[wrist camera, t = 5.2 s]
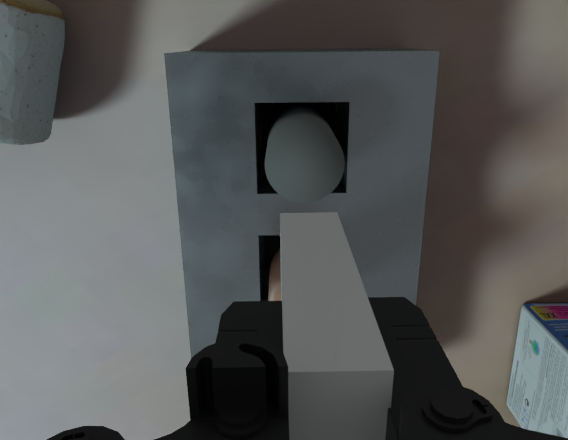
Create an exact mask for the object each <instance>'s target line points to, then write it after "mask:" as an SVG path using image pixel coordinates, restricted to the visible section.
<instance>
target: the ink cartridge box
mask: <svg viewBox="0 0 568 440" xmlns="http://www.w3.org/2000/svg"><path fill="white" fill-rule="evenodd" d="M507 406H508V407H509V409H510V410H511V412H512V413H513V415H514V417H515V418H516V420H517V421H518V423H519V424H520V426H521V427H522V428H523V429H527V430H532V431H536V432H541V433H546V434H550V435H555V436H560V437H564V438H568V303H549V304H524V305H523V306H522V308H521V315H520V321H519V327H518V334H517V340H516V346H515V352H514V359H513V365H512V372H511V378H510V384H509V391H508V397H507Z"/></svg>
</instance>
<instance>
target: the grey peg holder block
mask: <svg viewBox="0 0 568 440" xmlns="http://www.w3.org/2000/svg"><path fill="white" fill-rule="evenodd" d="M164 55H165V66H166V77H167V89H168V100H169V111H170V123H171V134H172V145H173V157H174V168H175V179H176V190H177V202H178V213H179V224H180V236H181V247H182V258H183V269H184V281H185V292H186V303H187V315H188V326H189V337H190V349H191V359H192V357H193V356H194V355H195V354H197V353H198V352H199V351H201V350H202V349H203V348H205V347H207V346H209V345H212V344H215V343H216V338H217V334H218V328H219V323H220V318H221V314H222V313H223V312H224V311H225V310H226V309H227V308H228V307H229V306H230V305H231V304H232V303H233V302H234V301H268V293H269V276H270V264H271V263H265V257H264V235H280V213H316V212H337V213H338V216H339V219H340V221H341V224H342V227H343V230H344V233H345V235H346V238H347V241H348V244H349V247H350V249H351V252H352V255H353V258H354V260H355V263H356V266H357V269H358V272H359V274H360V277H361V280H362V283H363V285H364V288H365V291H366V294H367V297H405V298H406V299H408V300H409V301H410V302H412V303H413V304H414V305H416V301H417V291H418V280H419V269H420V259H421V248H422V237H423V227H424V216H425V205H426V195H427V184H428V173H429V163H430V152H431V141H432V131H433V120H434V109H435V99H436V88H437V77H438V67H439V56H440V51H438V50H422V49H322V50H226V51H183V52H174V53H165V54H164ZM289 102H336V111H335V137H336V139H337V141H338V142H339V144H340V146H341V148H342V151H343V154H344V164H345V165H344V172H343V175H342V178H341V180H340V182H339V184H338V185H337V187H336V188H335V189H334V190H333V191H332V192H331V193H330V194H329V195H327V196H326V197H324V198H322V199H320V200H317V201H314V202H309V203H299V202H294V201H291V200H288V199H286V198H284V197H282V196H281V195H280V194H278V193H277V192H276V191H275V190H274V189H273V187H272V186H271V185H270V183H269V181H268V179H267V176H266V172H265V164H262V140H261V103H289Z"/></svg>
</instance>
